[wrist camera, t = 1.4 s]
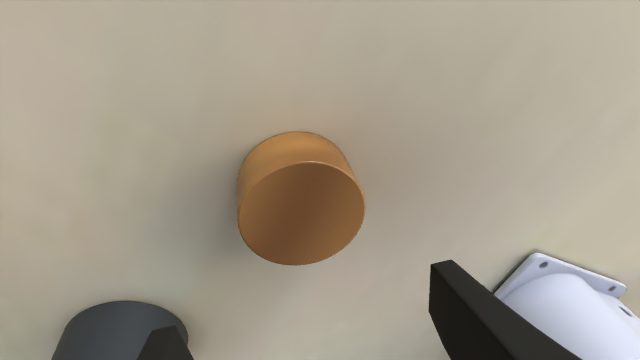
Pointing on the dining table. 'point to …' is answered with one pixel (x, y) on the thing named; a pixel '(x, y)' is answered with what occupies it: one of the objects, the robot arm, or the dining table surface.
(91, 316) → the dark grey cylinder
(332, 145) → the orange brown short cylinder
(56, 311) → the dining table surface
